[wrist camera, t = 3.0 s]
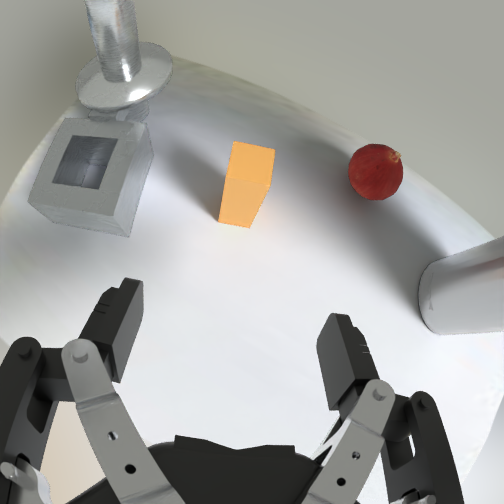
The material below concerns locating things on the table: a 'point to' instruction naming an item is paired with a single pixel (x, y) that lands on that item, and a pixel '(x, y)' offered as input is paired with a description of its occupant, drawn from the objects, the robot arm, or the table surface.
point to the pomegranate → (375, 171)
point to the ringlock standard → (105, 127)
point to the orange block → (246, 183)
